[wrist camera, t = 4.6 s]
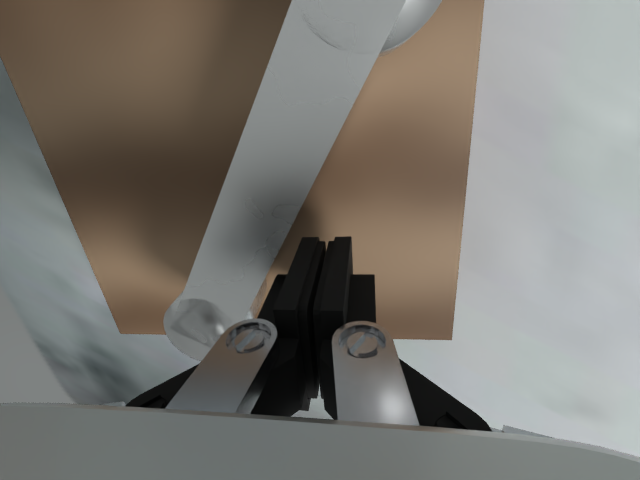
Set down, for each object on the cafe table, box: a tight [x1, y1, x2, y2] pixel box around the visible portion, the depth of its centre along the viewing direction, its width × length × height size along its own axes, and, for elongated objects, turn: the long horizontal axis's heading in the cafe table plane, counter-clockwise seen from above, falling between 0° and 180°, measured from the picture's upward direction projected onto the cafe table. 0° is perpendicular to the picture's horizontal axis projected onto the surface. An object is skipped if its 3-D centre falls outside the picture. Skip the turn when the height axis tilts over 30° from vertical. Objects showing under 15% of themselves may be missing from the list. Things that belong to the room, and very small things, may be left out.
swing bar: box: [163, 0, 442, 361], centre depth 10 cm, size 13×3×3 cm, turn 154°
